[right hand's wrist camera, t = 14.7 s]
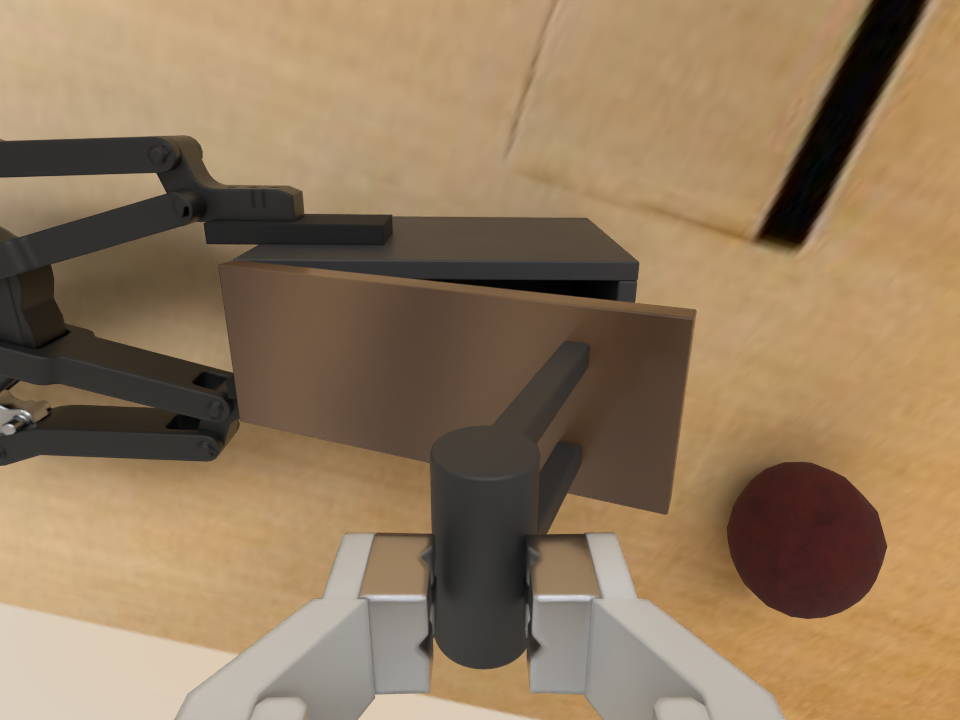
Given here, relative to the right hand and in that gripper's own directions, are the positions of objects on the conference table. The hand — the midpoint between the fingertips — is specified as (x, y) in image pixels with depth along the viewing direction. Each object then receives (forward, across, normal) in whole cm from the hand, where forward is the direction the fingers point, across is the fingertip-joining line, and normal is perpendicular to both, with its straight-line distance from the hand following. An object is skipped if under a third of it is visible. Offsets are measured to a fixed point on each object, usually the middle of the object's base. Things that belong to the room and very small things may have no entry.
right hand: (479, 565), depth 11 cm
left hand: (+16, -4, 0) cm, 16 cm away
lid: (+9, -1, 0) cm, 9 cm away
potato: (+22, +17, -13) cm, 30 cm away
